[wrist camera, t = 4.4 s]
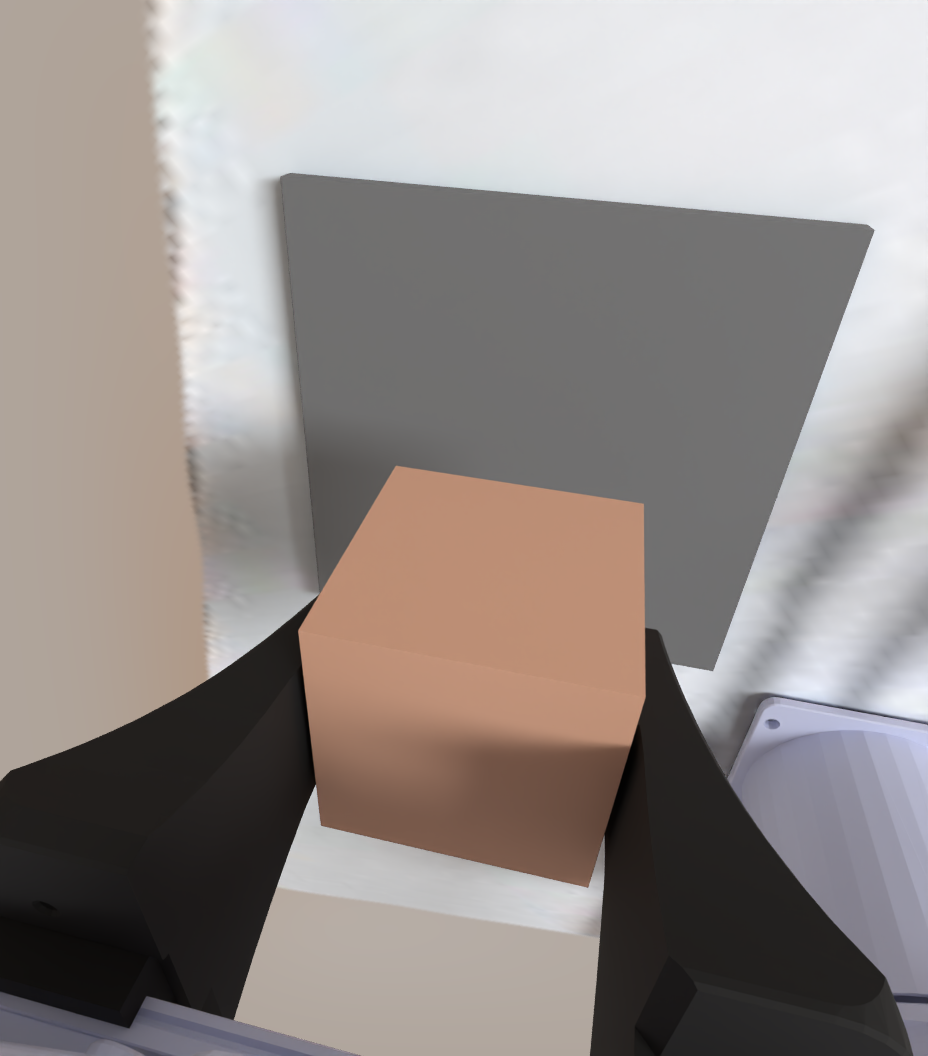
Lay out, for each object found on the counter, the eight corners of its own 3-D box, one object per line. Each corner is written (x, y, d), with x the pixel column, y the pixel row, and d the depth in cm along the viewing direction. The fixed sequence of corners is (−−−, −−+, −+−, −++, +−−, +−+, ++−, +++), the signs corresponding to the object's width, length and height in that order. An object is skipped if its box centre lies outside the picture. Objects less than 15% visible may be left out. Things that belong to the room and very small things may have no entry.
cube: (600, 681, 16) (588, 887, 12) (396, 642, 17) (321, 825, 13) (644, 503, 13) (645, 698, 9) (395, 465, 14) (297, 630, 10)
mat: (711, 658, 24) (713, 671, 23) (326, 589, 26) (320, 599, 25) (867, 224, 16) (874, 230, 15) (290, 173, 18) (280, 176, 17)
